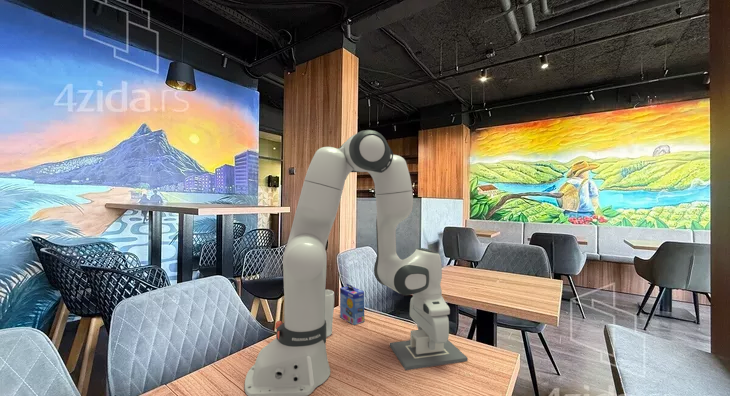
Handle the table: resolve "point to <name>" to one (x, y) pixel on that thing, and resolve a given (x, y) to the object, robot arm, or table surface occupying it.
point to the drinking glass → (329, 310)
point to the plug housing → (423, 342)
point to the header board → (426, 355)
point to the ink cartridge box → (352, 304)
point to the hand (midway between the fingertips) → (426, 343)
